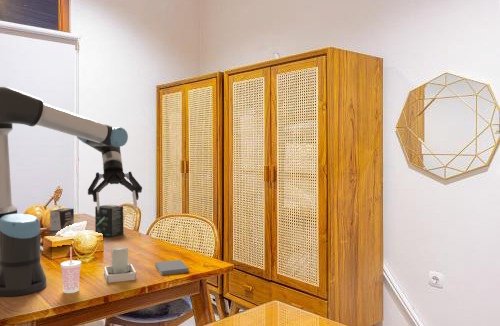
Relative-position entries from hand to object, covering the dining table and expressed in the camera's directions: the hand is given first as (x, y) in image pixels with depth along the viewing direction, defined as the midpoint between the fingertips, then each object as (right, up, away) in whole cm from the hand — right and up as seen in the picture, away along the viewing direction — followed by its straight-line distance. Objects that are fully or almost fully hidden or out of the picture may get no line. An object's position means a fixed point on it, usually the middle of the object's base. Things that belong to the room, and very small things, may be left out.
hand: (117, 207), depth 160 cm
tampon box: (-22, -20, +56) cm, 63 cm away
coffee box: (-36, -21, +34) cm, 54 cm away
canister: (+4, -24, -10) cm, 26 cm away
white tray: (+4, -24, -10) cm, 26 cm away
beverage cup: (-7, -24, -25) cm, 36 cm away
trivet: (+21, -23, -1) cm, 31 cm away
